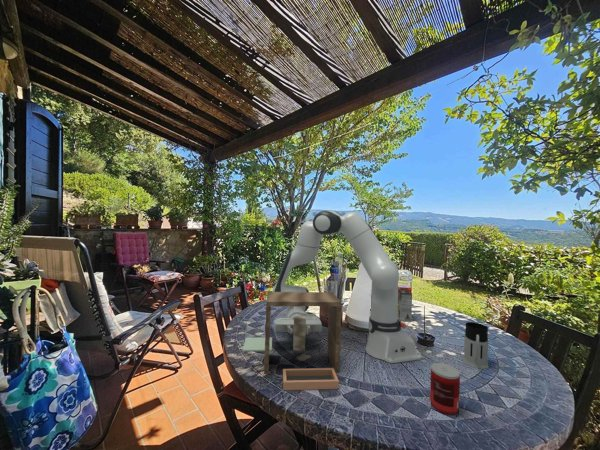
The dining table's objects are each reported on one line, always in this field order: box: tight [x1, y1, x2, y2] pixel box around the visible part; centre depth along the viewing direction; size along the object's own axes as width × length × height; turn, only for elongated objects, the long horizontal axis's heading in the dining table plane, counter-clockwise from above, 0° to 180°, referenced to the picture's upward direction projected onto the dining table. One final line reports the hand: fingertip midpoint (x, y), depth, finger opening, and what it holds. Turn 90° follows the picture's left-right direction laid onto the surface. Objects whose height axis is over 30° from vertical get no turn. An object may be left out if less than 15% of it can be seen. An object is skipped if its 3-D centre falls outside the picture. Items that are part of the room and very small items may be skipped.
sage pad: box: [242, 337, 273, 352], centre depth 116 cm, size 12×12×1 cm
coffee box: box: [397, 289, 413, 323], centre depth 156 cm, size 9×6×16 cm
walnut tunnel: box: [263, 291, 342, 375], centre depth 102 cm, size 27×14×26 cm, turn 95°
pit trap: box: [282, 367, 340, 391], centre depth 90 cm, size 18×8×2 cm, turn 95°
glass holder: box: [462, 321, 490, 370], centre depth 105 cm, size 9×14×15 cm, turn 149°
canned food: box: [429, 362, 461, 415], centre depth 80 cm, size 8×8×11 cm
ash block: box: [292, 316, 306, 351], centre depth 109 cm, size 4×4×12 cm
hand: (299, 332), depth 108 cm, fingers closed on ash block, 4 cm apart
